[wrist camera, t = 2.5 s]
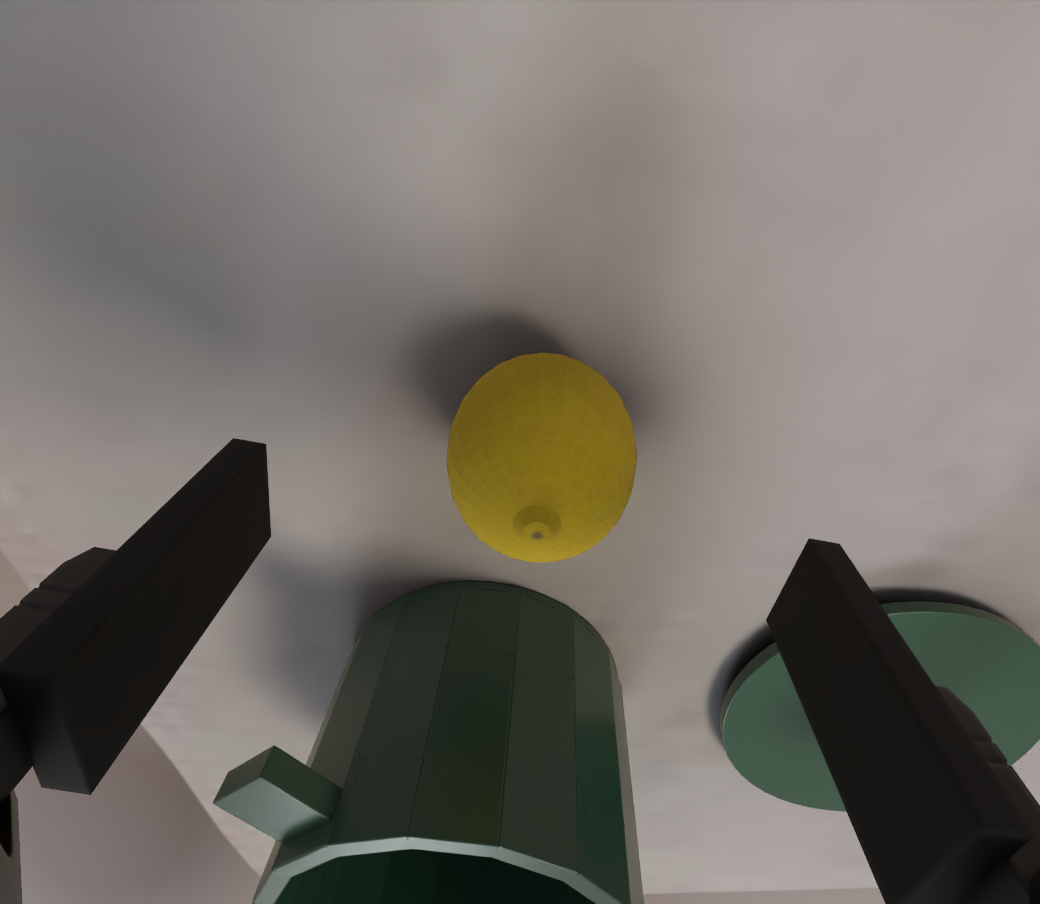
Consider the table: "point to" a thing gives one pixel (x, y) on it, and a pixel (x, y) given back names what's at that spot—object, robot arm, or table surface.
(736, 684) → the lid
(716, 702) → the table surface
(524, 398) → the lemon
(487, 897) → the pot
